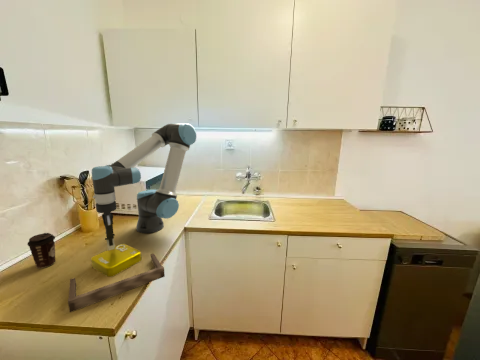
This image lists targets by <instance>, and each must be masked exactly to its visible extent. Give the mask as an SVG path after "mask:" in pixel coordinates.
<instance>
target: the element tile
mask: <svg viewBox="0 0 480 360" xmlns="http://www.w3.org/2000/svg"><path fill="white" fill-rule="evenodd" d="M90 261H91V266H92V269H94V270H95V271H97V272H99V273H100V274H102V275H104V276H105V277H108V278H110V277H111V278H112V277H114V276H116V275H118V274H120V273H122V272H123V271H124V272H125V270H127V269H129V268H131V267H133V266H135V265H136V264H138V263H140V262H141V261H142V252H141V250H139V249H137V248H135V247H132V246H130V245H128V244H126V243H121V244H118V245H115V249H112V250H109V251H108V249H107V250H104V251H102V252H100V253H98V254H96V255H93V256H92V257H91V258H90Z"/></svg>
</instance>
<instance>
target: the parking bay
mask: <svg viewBox="0 0 480 360" xmlns="http://www.w3.org/2000/svg"><path fill="white" fill-rule="evenodd" d="M150 260H151V262H152V264H153V266H154V268H153V269H150V270H147V271H144V272H142V273H139V274H136V275H133V276H130V277H127V278H124V279H121V280H119V281H115V282H113V283H109V284H107V285H104V286H102V287H98V288H95V289H93V290H90V291H87V292H83V293H81V294H78V295H77V282H76V277H73V278H70V279H69V288H68V290H69V291H68V298H67V304H68V310H69V313H73V312H74V311H77V310H80V309H83V308H85V307H88V306H91V305H93V304H96V303H99V302H101V301H104V300H107V299H109V298H112V297H115V296H117V295H119V294H123V293H125V292H128V291H130V290H133V289H135V288H138V287H141V286H143V285H146V284H149V283H152V282H154V281H157V280H159V279H161V278H165V266H164V265H162V264H161V263H160V260H159V259H158V257H157V256H156V254H155V253H151V254H150Z"/></svg>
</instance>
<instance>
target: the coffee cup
mask: <svg viewBox="0 0 480 360" xmlns="http://www.w3.org/2000/svg"><path fill="white" fill-rule="evenodd" d="M54 240H56V235H53V234H52V233H50V232H44V233H39V234H36V235H33V236H31V237H30V238H29V239H28V242H27V244H26V245H27V246H28V247H29V250H30V253H31V256H32V258H33V259H32V260H33V262H34V263H35V265H36V266H35V268H36V269H45V268H48V267H51V266H52V265H54V264H55V263H56V245H55V244H56V243H55V241H54Z"/></svg>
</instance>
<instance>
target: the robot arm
mask: <svg viewBox="0 0 480 360" xmlns="http://www.w3.org/2000/svg"><path fill="white" fill-rule="evenodd" d="M196 141H197V131H196V130H195V127H194V126H193V125H192V124H190V123H185V122H181V123H168V124H165V125H163V126H162V127H160V128H159V129H157V130H156V131H154V132H152V134H151V136H150V137H149V138H148V139H146V140H144V141H143V142H142V143H140V144H139V145H137V146H136V147H134V148H133V149H132V150H130V151H129V152H127V153H126V154H125V155H123V156H122V157H120V158H118V160H115V162H113V163H111V164H106V165H101V166H99V165H98V166H94V167H93V168H92V169H91V180H92V186H93V194H94V195H92V198H93V199H94V201H95V208H96V209H95V210H96V212H97V213H99V214H101V218H102V221H103V226H104V229H105V238H104V240H105V241H106V244H107V250H108V251H109V250H112V249H115V247H116V244H115V236H116V235H115V233H114V226H113V225H114V214H113V212H114V211H116V210H117V202H116V191H115V188H116V187H122V186H127V185H128V186H129V185H134V184H137V183H139V182H140V181H141V178H142V175H141V174H142V173H141V171H140V169H138V168H137V167H136V166H137V165H139V164H140V163H142V162H143V161H144V160H146V159H147V158H148V157H150V156H151V155H152V154H153V153H155V152H156V151H157V150H158V149H159V150H160V148H165V147H166V146H167V145H169V147H170V148H169V151H168V156H167V160H166V164H165V167H164V171H163V175H162V177H161V182H160V184H159V185H160V186H159V188H158V189H148V190H146V189H145V190H142V191H139V192H138V193H137V194H136V200H137V201H136V202H137V212H138V218H137V222H136V226H135V228H136V231H137V232H138V233H142V234H151V233H156V232H159V231H160V230H162V229H163V228H164V225H165V224H164V221H163V219H164V220H165V219H167V220H168V219H171V218H172V217H173V216H175V215H176V213H177V212H178V211H179V206H180V205H179V201H178V200H177V197H178V194H177V193H176V190H177V186H178V183H179V178H180V176H181V170H182V166H183V165H184V164H183V163H184V160H185V155H186V152H187V151H189V150H190V148H191V146H192V145H193V144H195V143H196Z"/></svg>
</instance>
